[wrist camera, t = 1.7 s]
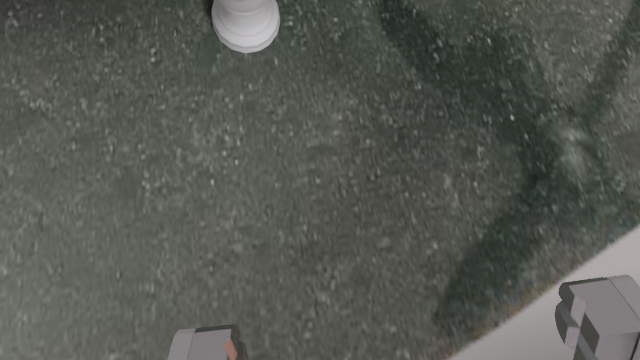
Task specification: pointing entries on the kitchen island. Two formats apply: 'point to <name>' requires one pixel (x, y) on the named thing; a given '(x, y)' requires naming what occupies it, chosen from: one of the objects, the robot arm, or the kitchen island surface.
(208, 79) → the kitchen island surface
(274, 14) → the rook chess piece
